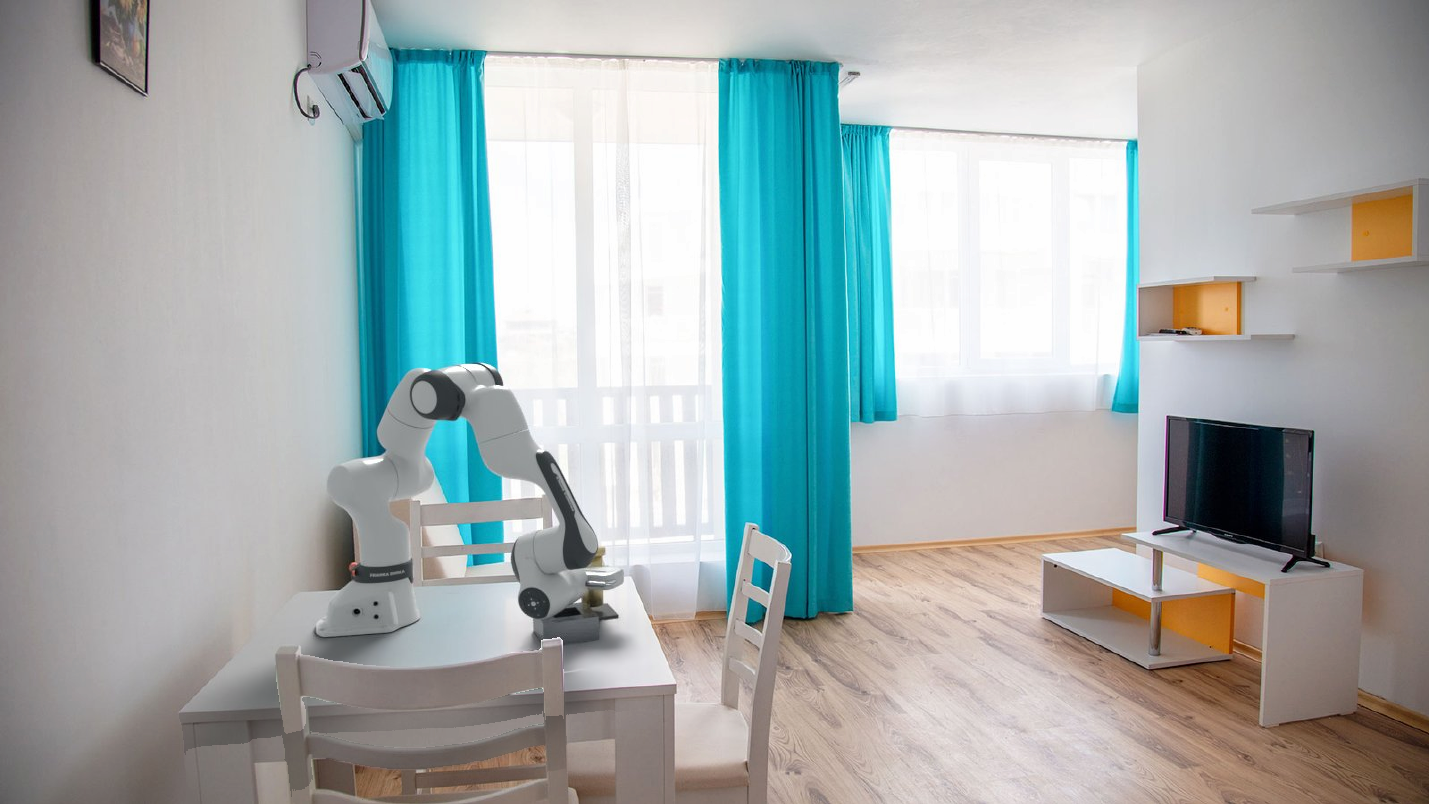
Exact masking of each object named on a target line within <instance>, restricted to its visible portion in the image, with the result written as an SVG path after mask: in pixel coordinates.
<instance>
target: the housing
mask: <svg viewBox="0 0 1429 804" xmlns="http://www.w3.org/2000/svg"><path fill="white" fill-rule="evenodd" d="M599 623H600V620H599V616H598V615H597V614H596V613H595V612H594V611H593V610H592V609H591V607H590V606H589V605H588V604H587V603H586V602H581V601H580V602H574V603H573V604H571V605H569V606H567V607H566V608H565V609H564V610H562V611H561V612H559V613H557V614H556V615H554V616H552V617H549V618H546V619H534V618H532V625H533V632H534V634H535V635H536V637H537V639H538V641H539V642H540V643H541V640H543V639H552V638H557V637H560V638H561V639H562V640H563V644H564V645H568V644H569V645H570V644H578V643H584V642H589V641H596V640H597V641H598V640H600V624H599Z"/></svg>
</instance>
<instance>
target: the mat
mask: <svg viewBox="0 0 1429 804" xmlns="http://www.w3.org/2000/svg"><path fill="white" fill-rule="evenodd" d="M591 609H592V610H593V611H594V612H595V613H596V614H597V615H598V616H599V621H601V620H608V619H616V618H619V616H620V615H619V614H618V612H616V610H615V609H613V607H612V606H610V604H609V603H605V602H604V604H603V605H602V606H599V607H592V608H591Z"/></svg>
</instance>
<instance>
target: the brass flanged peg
mask: <svg viewBox="0 0 1429 804" xmlns="http://www.w3.org/2000/svg"><path fill="white" fill-rule="evenodd" d="M605 555H606V547H605V546H601V545H598V551H597V553H596V556H595V557H594V559H593V561H592V562H591V563H590V565H589V566H599V567H600V566H602V565H603V556H605ZM580 600H581V601H580V602H586V603H587V604H588V605H589V606H590V607H591V608H592V607H599V606H602V605H603V604H605V601H604V590H590V589H588V590H587V592H586V594H585V595H584V596H583V597H582V598H580Z"/></svg>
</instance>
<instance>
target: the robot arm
mask: <svg viewBox="0 0 1429 804" xmlns="http://www.w3.org/2000/svg"><path fill="white" fill-rule="evenodd" d="M459 418H462V419H464V420H466V421H467V422H468V423H469V424H470V425H471V427H472V430H473V433H474V436H475V440H476V443H477V447H478V451H479V454H480V456H481V459H482V461H483V463H484V465H485V466H486V468H487V470H489V471H490V472H491V473H493V474H495V475H496V476H498V477H501V478H506V479H511V480H519V481H526V482H529V483H531V484H534V485H537V486H538V487H539V488H540V489H542V491H543V493H544V494H545V496H546V498H547V501H548V502H549V504H550V508H552V511H553V512H554V514H555V517H556V519H557V521H558V523H559V524H558V525H554V526H551V527H548V528H544V529H538V530H535V531H531V532H527V533H523V534H521V535H518V537H517V538H516V540H515V541H514V543H513V546H512V549H511V554H510V564H511V569H512V571H513V574H514V576H515V577H516V580H517V581H518V583H519V585H520V586H519V590H518V596H517V603H518V606H519V609H520V610H521V611H522V613H524V614H525V615H526V616H527V617H529V618H531V619H533V618H534V619H546V618H549V617H552V616H554V615H556V614H557V613H559V612H561V611H562V610H564V609H565V608H566V607H567V606H569V605H571V604H573V603H577V601H579V600H581V598H582V597H583V596H584V595H585V594H586V592H587V590H588V589H590V590H603V591H609V590H613V589H615V588H618V587H619V586H621V585H623V584H624V581H625V572H624V569H623V568H622V567H615V566H610V565H607V564H602V566H600V567H599V566H589V565H590V563H591V562H592V561H593V559H594V557H595V556H596V553H597V551H598V546H599V543H598V538H597V534H596V533H595V532H596V531H594V529H593V527H592V526H591V524H590V523H589V522H588V520H587V519H586V517H585V515H584V514H583V512H582V510H581V508H580V505H579V504H578V502H577V500H576V497H575V496H574V493H573V492H572V489H571V488H570V486H569V483H568V482H567V479H566V477H565V476H564V474H563V472H562V469H561V468H560V466H559V464H558V462H557V461H556V459H555V458H554V456H553V455H552V454H551V452H549V451H547V450H544V449H542V448H541V447H540V445H538V444H537V442H536V441H535V440H534V438H533V436H532V435H531V432H530V429H529V425H528V422H527V420H526V418H525V415H524V413H523V411H522V408H521V406H520V404H519V402H518V400H517V398H516V397H515V394H514V393H513V391H512V390H511V389H510V388H508V387H506V386H504V382H503V378H502V375H501V373H500V372H499V371H498V369H496V368H495V367H494V366H492V365H491V364H487V363H484V362H473V363H464V364H463V363H462V364H453V365H450V366H447V367H442V368H439V369H429V368H425V367H416V368H413V369H411V370H409V371H408V372H407V373H405V375H404V376H403V377H402V379H401V381H399V383H398V385H397V387H396V388H395V390H394V391H393V392H392V395H391V397H390V399H389V402H388V403H387V406H386V408H385V410H384V413H383V415H382V418H381V420H380V422H379V424H378V426H377V429H376V434H377V435H376V436H377V440H378V442H379V443H380V445H381V446H382V448H384V449H385V452H383V453H382V454H380V455H377V456H371V457H363V458H354V459H351V460H348V461H345V462H342V463H340V464H338V465H335V466H334V467H333V468H332V469H331V470H330V472H329V474H328V476H327V479H326V480H327V482H326V488H327V493H328V495H329V498H330V499H331V500H332V502H333V503H334V504H335V505H337V506H338V507H340V508H341V509H343V510H345V512H347V513H348V515H349V516H350V517H351V519H352V521H353V524H354V525H355V528H356V531H357V536H358V546H359V547H358V548H359V561H360V562H359V563H357V562H356V561H355V562H351V563H350V564H349V568H348V570H349V571H350V576H351V577H350V578H351V581H349V582H348V583H346V584H345V586H344V587H341V589H340V590H338V591H337V592H336V593H335V594H333V596H332V597H331V598H330V600H329V601H328V603H327V606H326V610H325V616H324V617H322V618H320V619H319V620H318V621H317V622H316V624H315V632H316V635H318V636H319V637H321V638H332V637H345V636H357V635H368V634H369V635H370V634H371V635H372V634H383V633H392V632H395V631H396V630H398V629H400V628H402V627H405V626H409V625H411V624H414V623H415V622H417V621H418V620H419V619H420V618H421V614H420V611H419V608H418V604H417V600H416V596H415V590H414V584H413V583H414V579H415V567H414V561H413V558H412V555H411V554H412V553H411V533H410V531H411V530H410V527H409V526H408V524H407V523H406V522H405V521H403V520H401V519H400V518H397V517H395V516H394V515H393V513H392V510H391V507H390V502H391V503H392V502H395V501H401V500H406V499H411V498H414V497H416V496H419V495H421V494H423V493H425V492H427V491H429V490H430V488H432V485H433V482H434V478H435V470H434V466H433V465H432V462H431V461H430V459H429V458H428V457H427V456H426V448H427V445H428V442H429V440H430V438H431V436H432V433H433V431H434V428H435V426H436V423H437V422H438V421H447V422H448V421H449V422H456V421H458V419H459Z"/></svg>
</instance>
